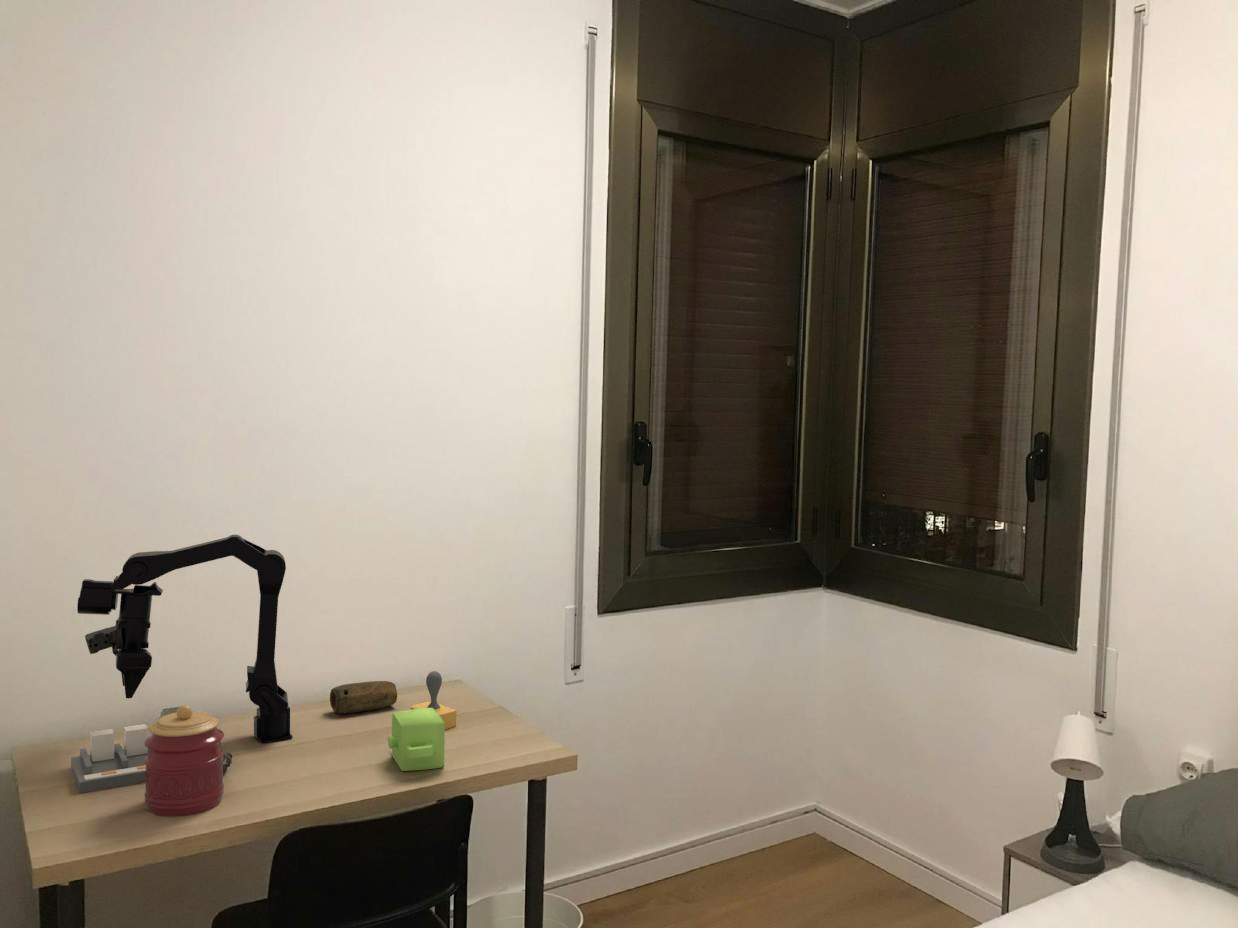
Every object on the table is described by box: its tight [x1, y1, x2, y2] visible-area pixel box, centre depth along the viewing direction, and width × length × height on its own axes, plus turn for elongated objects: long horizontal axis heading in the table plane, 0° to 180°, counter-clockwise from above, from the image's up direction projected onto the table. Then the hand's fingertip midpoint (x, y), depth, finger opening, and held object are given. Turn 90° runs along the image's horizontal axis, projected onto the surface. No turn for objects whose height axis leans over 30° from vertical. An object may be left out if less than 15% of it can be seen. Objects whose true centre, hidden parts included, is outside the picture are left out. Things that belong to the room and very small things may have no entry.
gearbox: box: [387, 708, 446, 772], centre depth 204 cm, size 18×10×10 cm, turn 23°
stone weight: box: [329, 680, 398, 715], centre depth 237 cm, size 15×7×7 cm, turn 129°
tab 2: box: [123, 723, 149, 757], centre depth 199 cm, size 4×3×5 cm
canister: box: [144, 704, 225, 817], centre depth 180 cm, size 13×13×18 cm
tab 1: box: [89, 728, 115, 762], centre depth 196 cm, size 4×3×5 cm
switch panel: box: [70, 743, 147, 794], centre depth 194 cm, size 16×15×4 cm
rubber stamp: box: [410, 670, 457, 730], centre depth 228 cm, size 10×6×12 cm, turn 46°
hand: (127, 691), depth 206 cm, fingers open, 9 cm apart
